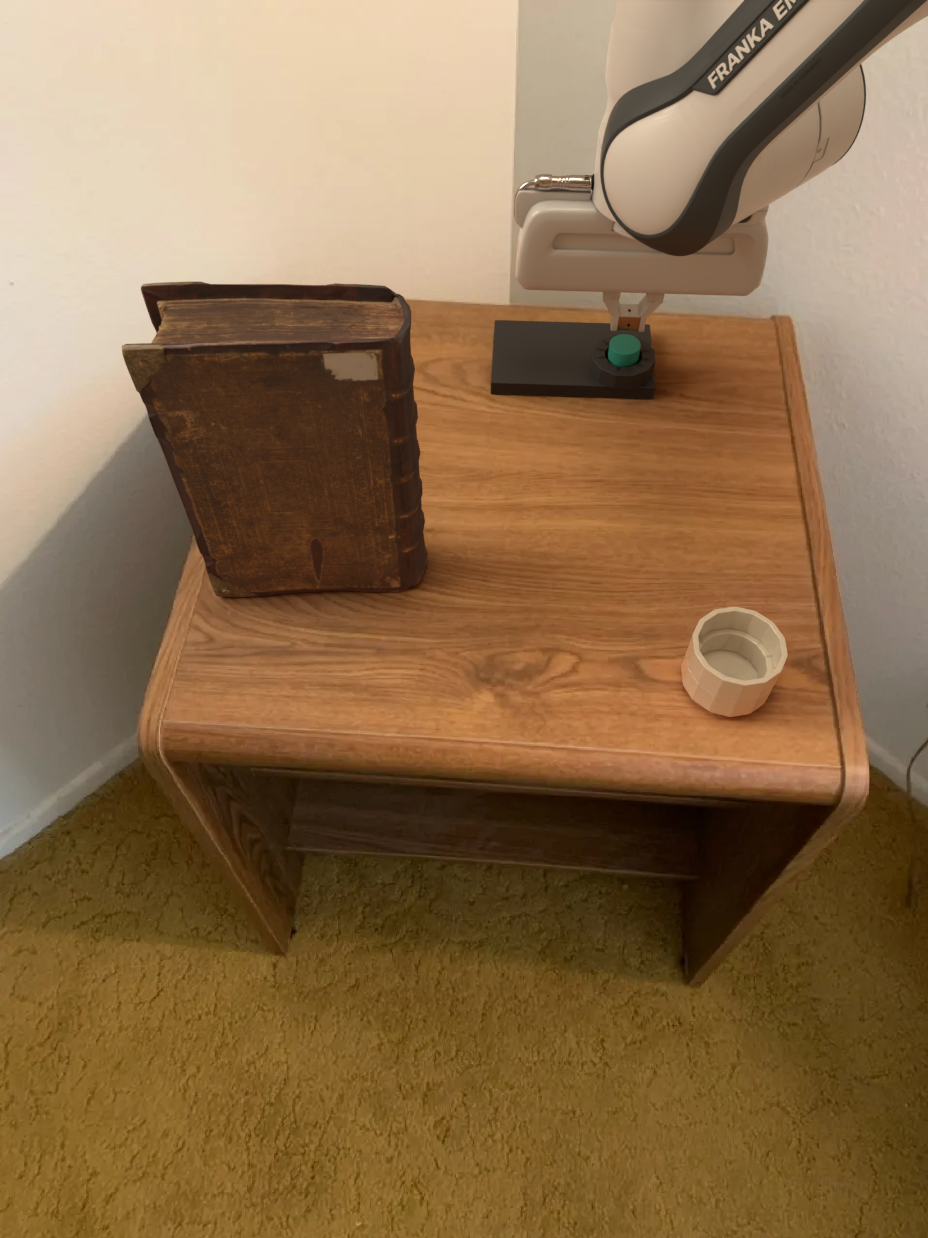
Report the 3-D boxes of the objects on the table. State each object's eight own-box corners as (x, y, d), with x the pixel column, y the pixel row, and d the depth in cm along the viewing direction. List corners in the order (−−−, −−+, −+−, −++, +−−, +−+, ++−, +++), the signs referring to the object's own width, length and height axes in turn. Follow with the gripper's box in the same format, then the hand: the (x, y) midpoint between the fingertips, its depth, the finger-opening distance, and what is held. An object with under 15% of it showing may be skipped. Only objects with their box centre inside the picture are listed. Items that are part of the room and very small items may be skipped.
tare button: (637, 347, 85) (640, 334, 84) (639, 368, 84) (641, 354, 82) (607, 346, 85) (609, 333, 84) (608, 367, 84) (610, 353, 83)
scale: (647, 335, 90) (652, 310, 88) (653, 401, 85) (658, 376, 83) (494, 331, 91) (494, 305, 88) (490, 396, 86) (490, 371, 83)
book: (432, 544, 76) (415, 281, 55) (422, 615, 72) (400, 360, 51) (232, 532, 77) (142, 269, 56) (211, 601, 73) (107, 345, 52)
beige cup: (762, 645, 70) (780, 608, 66) (773, 722, 66) (793, 687, 62) (677, 642, 70) (689, 604, 66) (683, 718, 66) (697, 683, 62)
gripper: (514, 197, 69) (508, 346, 80) (791, 204, 68) (745, 354, 80) (516, 151, 73) (510, 301, 84) (779, 158, 72) (737, 307, 83)
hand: (626, 327), depth 82 cm, fingers closed
